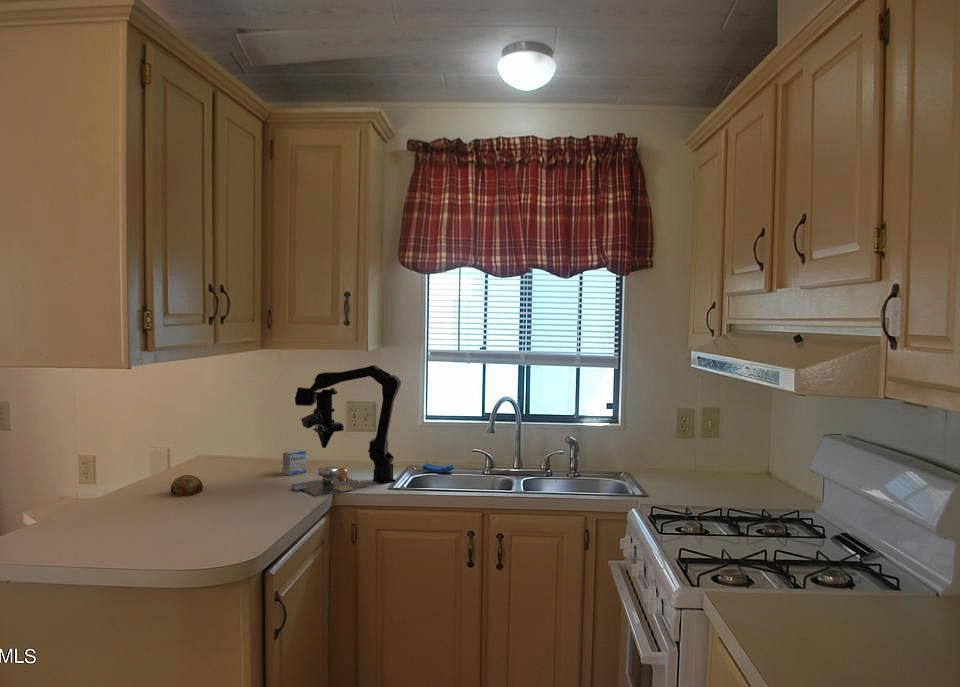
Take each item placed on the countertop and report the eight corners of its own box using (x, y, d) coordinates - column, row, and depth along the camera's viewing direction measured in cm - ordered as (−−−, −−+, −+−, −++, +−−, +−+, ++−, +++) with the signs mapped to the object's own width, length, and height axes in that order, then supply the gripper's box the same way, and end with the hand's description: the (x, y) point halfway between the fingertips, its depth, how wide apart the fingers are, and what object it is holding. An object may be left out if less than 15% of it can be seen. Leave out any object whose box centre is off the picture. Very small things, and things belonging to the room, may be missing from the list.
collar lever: (314, 473, 223) (315, 462, 223) (332, 471, 228) (332, 460, 228) (335, 482, 211) (335, 471, 211) (353, 479, 216) (354, 468, 216)
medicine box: (289, 476, 234) (289, 453, 234) (282, 474, 237) (282, 452, 237) (306, 472, 241) (306, 450, 240) (299, 470, 243) (299, 449, 243)
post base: (341, 477, 234) (341, 468, 234) (369, 487, 219) (369, 478, 219) (285, 487, 219) (285, 477, 218) (311, 499, 204) (311, 488, 204)
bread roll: (168, 503, 209) (159, 484, 206) (192, 484, 218) (184, 466, 214) (188, 507, 205) (179, 488, 202) (211, 488, 213) (203, 469, 210)
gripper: (292, 405, 230) (292, 446, 231) (316, 410, 217) (316, 454, 217) (319, 403, 238) (319, 443, 238) (344, 408, 224) (344, 450, 225)
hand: (324, 447), depth 229 cm, fingers closed
